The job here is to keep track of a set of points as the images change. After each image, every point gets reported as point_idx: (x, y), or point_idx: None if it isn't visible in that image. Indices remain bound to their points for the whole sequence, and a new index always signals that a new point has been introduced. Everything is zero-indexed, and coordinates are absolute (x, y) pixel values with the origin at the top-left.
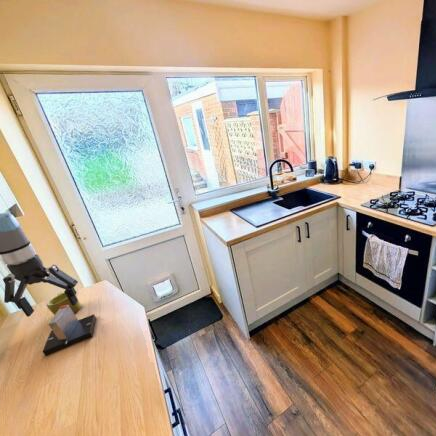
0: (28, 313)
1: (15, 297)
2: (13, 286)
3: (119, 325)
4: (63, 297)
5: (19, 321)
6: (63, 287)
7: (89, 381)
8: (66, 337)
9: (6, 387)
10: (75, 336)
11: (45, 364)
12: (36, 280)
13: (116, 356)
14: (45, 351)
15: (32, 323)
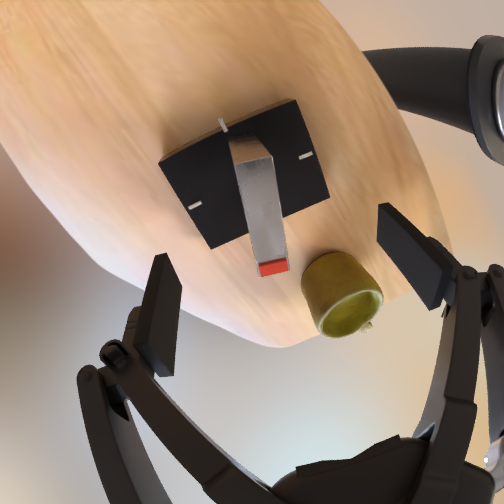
0: (386, 215)
1: (472, 300)
2: (493, 382)
3: (100, 200)
4: (353, 317)
5: None
6: (136, 378)
7: (66, 16)
8: (228, 140)
9: (331, 16)
10: (205, 150)
11: (263, 64)
12: (323, 493)
13: (36, 90)
14: (287, 101)
15: None
